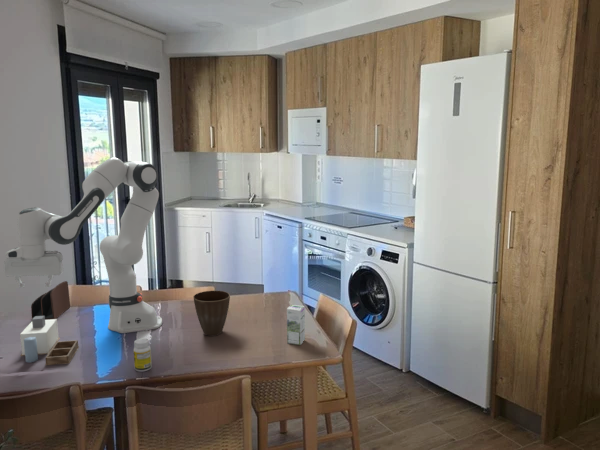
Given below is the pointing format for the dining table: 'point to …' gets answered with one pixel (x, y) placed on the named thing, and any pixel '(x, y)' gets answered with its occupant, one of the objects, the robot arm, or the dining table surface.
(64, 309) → the letter holder
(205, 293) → the plant pot
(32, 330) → the cover
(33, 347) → the peg
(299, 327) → the syrup box
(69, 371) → the dining table surface
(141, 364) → the supplement bottle
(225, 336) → the dining table surface
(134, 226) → the robot arm
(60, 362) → the divided wooden tray
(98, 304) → the dining table surface
